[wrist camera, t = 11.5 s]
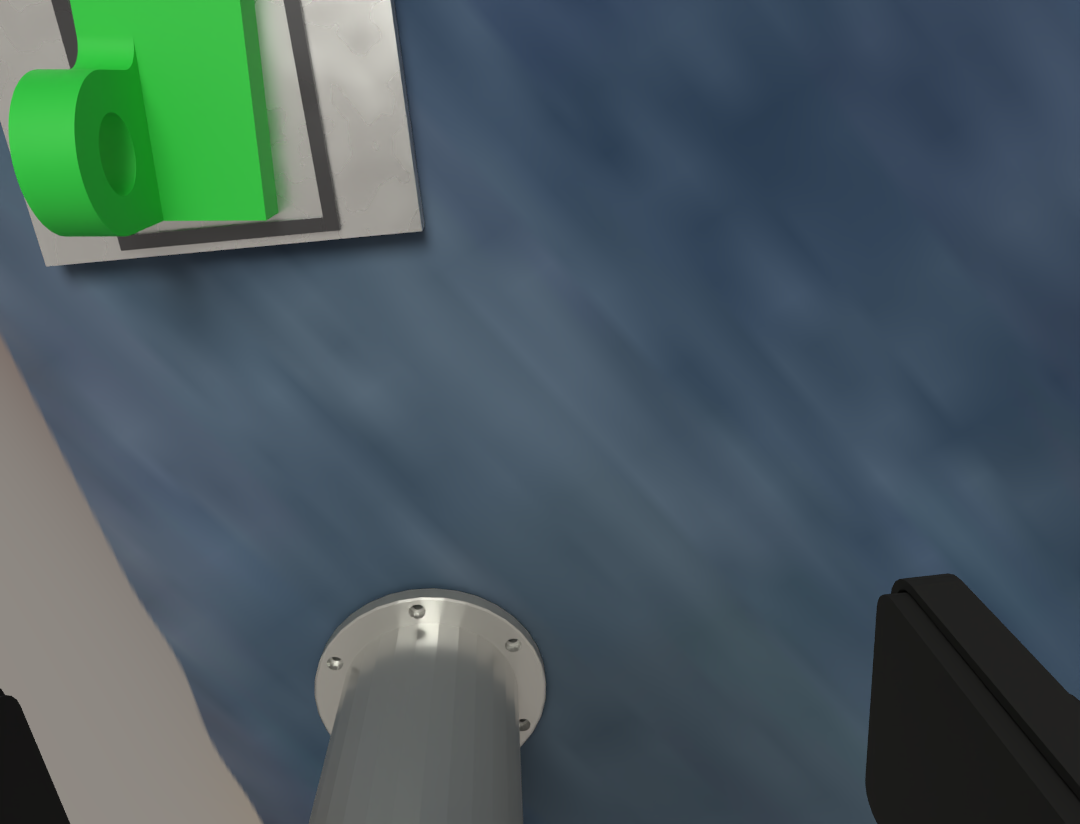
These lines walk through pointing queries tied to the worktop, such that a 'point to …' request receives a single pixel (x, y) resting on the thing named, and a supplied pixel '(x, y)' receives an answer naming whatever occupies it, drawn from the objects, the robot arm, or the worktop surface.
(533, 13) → the worktop surface
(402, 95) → the flange
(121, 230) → the mechanical part
